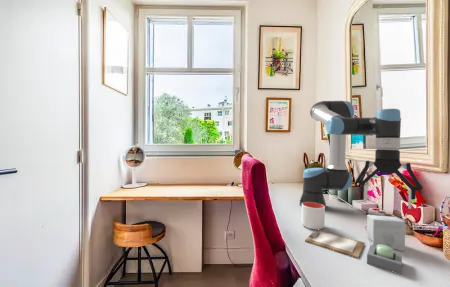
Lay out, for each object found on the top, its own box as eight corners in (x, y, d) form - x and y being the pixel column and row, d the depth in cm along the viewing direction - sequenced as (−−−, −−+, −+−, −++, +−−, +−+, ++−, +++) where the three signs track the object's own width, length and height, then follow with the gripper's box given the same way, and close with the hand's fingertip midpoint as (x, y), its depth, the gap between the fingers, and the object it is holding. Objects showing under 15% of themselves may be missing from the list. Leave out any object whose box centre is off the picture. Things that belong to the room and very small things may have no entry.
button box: (370, 253, 76) (370, 244, 76) (401, 262, 70) (402, 253, 70) (366, 263, 69) (367, 254, 69) (401, 274, 64) (401, 264, 64)
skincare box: (396, 242, 84) (396, 216, 84) (405, 250, 78) (406, 222, 78) (366, 239, 87) (366, 213, 87) (373, 246, 81) (373, 219, 80)
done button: (377, 252, 73) (377, 243, 73) (393, 257, 70) (393, 247, 70) (375, 257, 69) (376, 247, 69) (392, 263, 66) (393, 252, 66)
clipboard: (304, 241, 84) (304, 238, 84) (316, 230, 94) (316, 228, 94) (358, 258, 72) (358, 255, 72) (364, 244, 83) (364, 241, 83)
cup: (326, 231, 93) (327, 209, 93) (303, 229, 95) (303, 207, 95) (321, 223, 103) (321, 202, 103) (299, 221, 105) (300, 201, 105)
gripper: (348, 148, 87) (347, 199, 87) (433, 150, 71) (432, 213, 71) (352, 148, 93) (351, 196, 93) (431, 150, 77) (430, 209, 77)
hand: (386, 204), depth 82 cm, fingers open, 13 cm apart
